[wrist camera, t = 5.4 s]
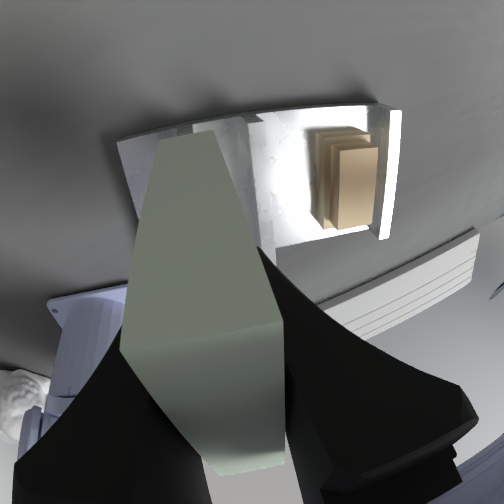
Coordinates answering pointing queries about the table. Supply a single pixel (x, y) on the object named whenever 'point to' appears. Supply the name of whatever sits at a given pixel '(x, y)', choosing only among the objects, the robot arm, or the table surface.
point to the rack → (280, 165)
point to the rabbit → (20, 398)
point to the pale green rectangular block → (205, 312)
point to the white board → (405, 289)
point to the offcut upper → (352, 184)
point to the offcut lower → (324, 168)
